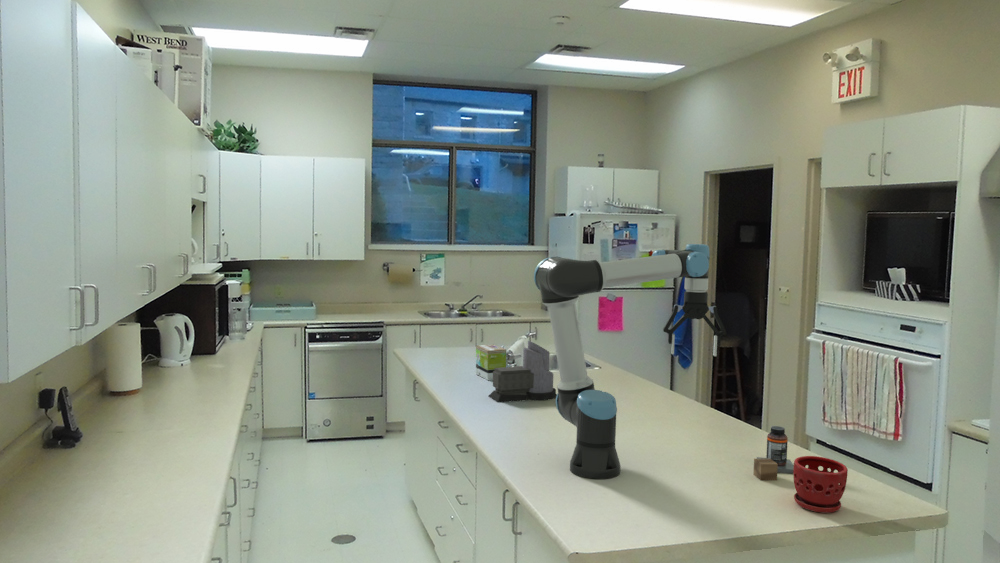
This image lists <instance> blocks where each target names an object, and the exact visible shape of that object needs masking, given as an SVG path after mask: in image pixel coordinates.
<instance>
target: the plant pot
mask: <svg viewBox="0 0 1000 563" xmlns="http://www.w3.org/2000/svg"><path fill="white" fill-rule="evenodd" d="M793 465H794V469H793V473H794V474H793V473H792V474H793V484H794V488H795V491H796V493H794V495H793V499H794V501H795V502H796V504H797V505H798V506H799V507H801V508H803V509H806V510H808V511H812V512H816V513H821V514H822V513H823V514H826V513H828V514H829V513H834V512H838V510H840V509H841V507H842V502H841V501H840V500H841V499H842V497H843V495H844V494H845V490H846V487H847V486H846V485H847V480H848V474H849V473H848V472H849V471H848V469H849V468H847V466H846V465H845V464H843V463H842V462H840V461H838V460H834V459H832V458H831V459H830V458H827V457H822V456H816V455H805V456H798V457H795V459H794V460H793ZM806 466H807V467H806ZM819 467H821V468H822V470H820V469H819ZM828 469H830V471H829V470H828ZM835 471H837V472H835Z"/></svg>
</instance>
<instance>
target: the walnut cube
mask: <svg viewBox="0 0 1000 563" xmlns="http://www.w3.org/2000/svg"><path fill="white" fill-rule="evenodd" d="M777 470H778V464H777V463H776V462H774V461H773V460H772V459H757V458H753V476H755V478H757V480H759V481H778V472H777Z"/></svg>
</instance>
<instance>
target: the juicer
mask: <svg viewBox="0 0 1000 563" xmlns="http://www.w3.org/2000/svg"><path fill="white" fill-rule="evenodd" d="M522 349H523V350H522V351H523V352H522V354H523V356H522V357H523V358H522V366H506V367H502V368H495V371H493V380H492V387H494V388H495V390H493V391H492V392H490V394H489V395H488V398H489V399H491V400H493V401H495V402H496V403H508V402H509V401H511V402H523V401H522V400H525V401H549V400H548V399H551V400H556V396H557V394H558V393H557V390H556V388H555V387H554V373H553V372H552V371H551V370H550V357H551V356H550V355H551V354H550V351H549V350H547V349H546V348H544V347H542V346H540V345H539V344H537V343H535V342H533V341H532V340H527V347H525V346H524V347H523V348H522ZM520 400H521V401H520Z"/></svg>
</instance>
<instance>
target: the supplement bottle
mask: <svg viewBox="0 0 1000 563" xmlns="http://www.w3.org/2000/svg"><path fill="white" fill-rule="evenodd" d="M785 432H786V431H785V427H783V426H778V425H773V426H771V427H770V432H769V433H768V434H767V436H766V438H767V439H766V455H765V458H766V459H772V460H773V461H774V462H776V463H777V464H778V466H783V465H786V463H787V459H788V441H789V439H788V438H789V437H788V435H786V434H785Z"/></svg>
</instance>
